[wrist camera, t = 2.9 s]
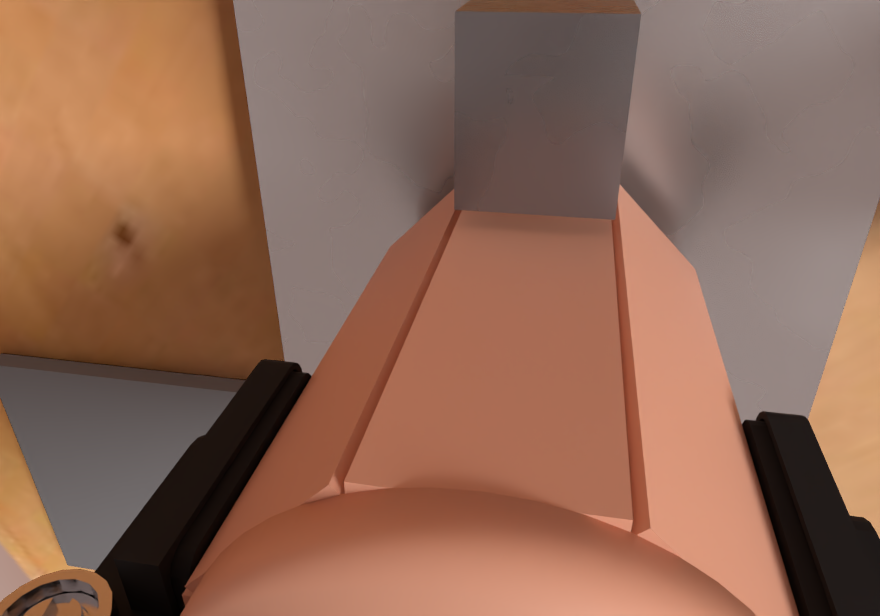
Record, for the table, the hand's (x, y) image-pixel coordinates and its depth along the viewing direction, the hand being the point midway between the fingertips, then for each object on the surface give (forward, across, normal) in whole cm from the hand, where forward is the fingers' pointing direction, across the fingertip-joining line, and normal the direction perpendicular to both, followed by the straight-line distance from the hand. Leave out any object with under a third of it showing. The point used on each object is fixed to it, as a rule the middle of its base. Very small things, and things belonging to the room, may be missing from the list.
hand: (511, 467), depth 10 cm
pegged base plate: (+7, 0, 0) cm, 7 cm away
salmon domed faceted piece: (+5, 0, 0) cm, 5 cm away
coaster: (+7, +12, +9) cm, 17 cm away
